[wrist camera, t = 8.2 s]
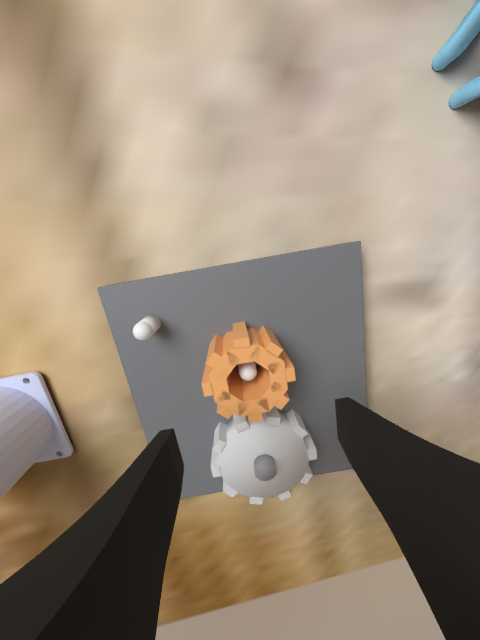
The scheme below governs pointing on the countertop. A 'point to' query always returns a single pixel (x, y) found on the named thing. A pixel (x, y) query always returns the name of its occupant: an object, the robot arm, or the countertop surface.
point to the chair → (458, 42)
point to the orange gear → (237, 391)
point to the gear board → (246, 364)
